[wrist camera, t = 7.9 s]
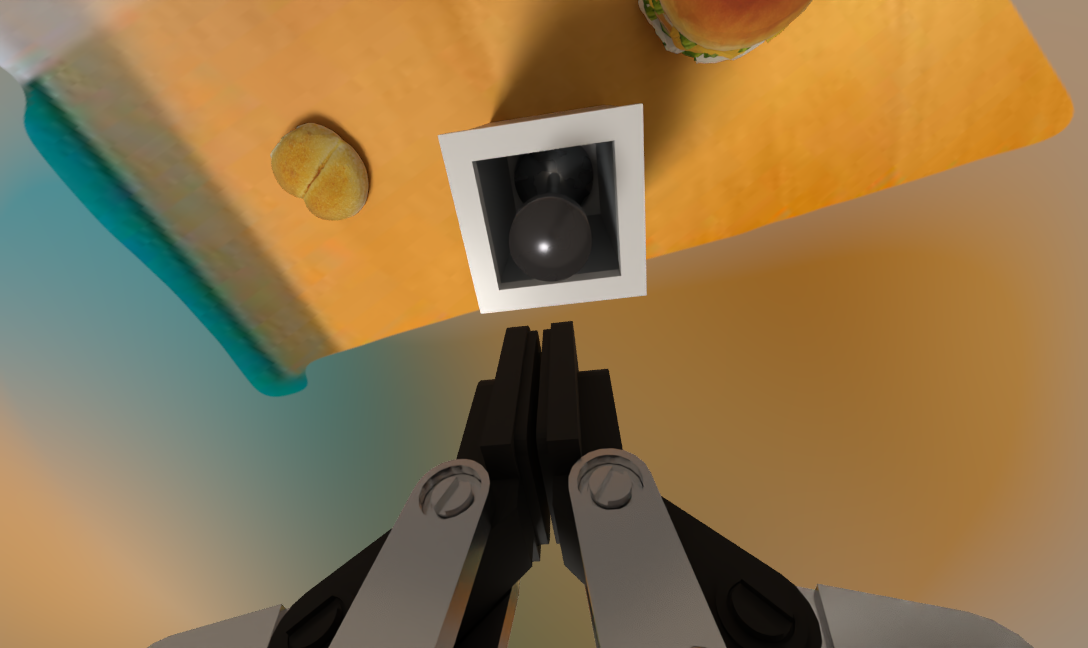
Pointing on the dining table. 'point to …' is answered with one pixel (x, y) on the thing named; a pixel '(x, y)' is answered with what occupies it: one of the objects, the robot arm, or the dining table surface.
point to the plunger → (552, 213)
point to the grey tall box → (611, 208)
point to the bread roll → (321, 171)
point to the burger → (719, 25)
